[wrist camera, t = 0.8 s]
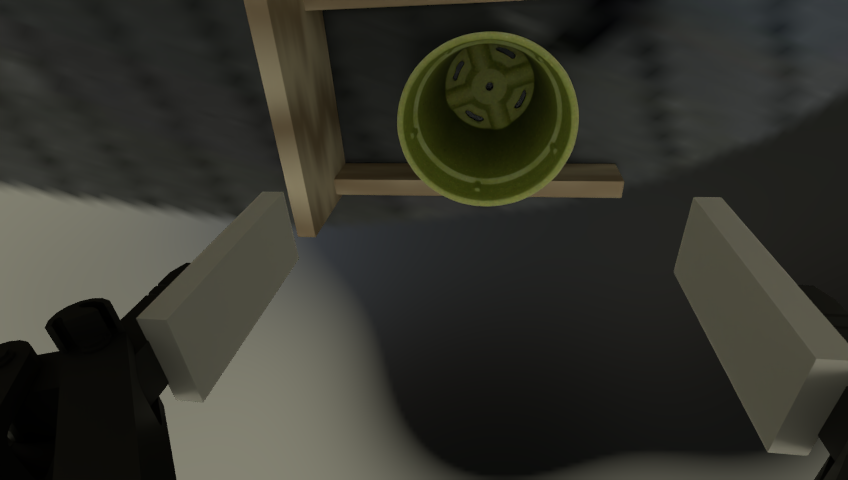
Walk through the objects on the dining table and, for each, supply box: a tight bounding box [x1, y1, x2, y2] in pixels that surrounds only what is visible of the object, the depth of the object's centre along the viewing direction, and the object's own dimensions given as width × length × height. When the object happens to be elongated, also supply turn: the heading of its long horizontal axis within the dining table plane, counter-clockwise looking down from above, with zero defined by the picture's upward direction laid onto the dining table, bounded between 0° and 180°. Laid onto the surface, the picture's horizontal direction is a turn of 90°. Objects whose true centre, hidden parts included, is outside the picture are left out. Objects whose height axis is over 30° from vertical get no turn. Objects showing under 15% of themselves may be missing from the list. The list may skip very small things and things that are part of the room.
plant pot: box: [397, 31, 579, 206], centre depth 28 cm, size 9×9×9 cm
